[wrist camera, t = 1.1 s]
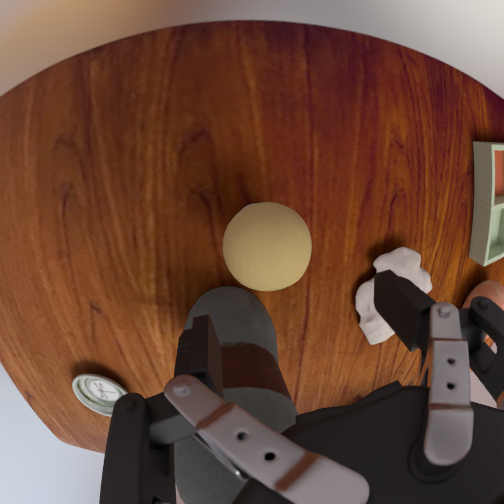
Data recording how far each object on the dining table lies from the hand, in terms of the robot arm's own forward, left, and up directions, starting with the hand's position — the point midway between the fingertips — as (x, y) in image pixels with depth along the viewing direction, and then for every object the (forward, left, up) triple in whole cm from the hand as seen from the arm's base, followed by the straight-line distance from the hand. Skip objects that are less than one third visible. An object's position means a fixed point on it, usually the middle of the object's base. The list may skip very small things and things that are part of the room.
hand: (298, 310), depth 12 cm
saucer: (+19, -26, -15) cm, 36 cm away
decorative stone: (+13, +15, -15) cm, 25 cm away
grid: (+3, +40, -15) cm, 43 cm away
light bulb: (0, 0, -15) cm, 15 cm away
